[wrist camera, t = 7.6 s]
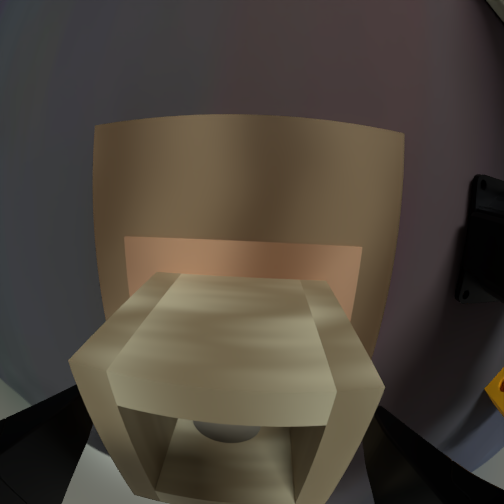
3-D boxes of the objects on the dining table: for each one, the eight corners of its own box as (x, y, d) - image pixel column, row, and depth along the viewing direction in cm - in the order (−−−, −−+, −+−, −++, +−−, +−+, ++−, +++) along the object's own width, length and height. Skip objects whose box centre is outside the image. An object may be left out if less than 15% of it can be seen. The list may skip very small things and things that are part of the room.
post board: (391, 137, 10) (475, 116, 5) (330, 446, 15) (343, 513, 9) (109, 129, 10) (21, 110, 5) (147, 434, 15) (122, 496, 10)
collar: (326, 280, 10) (385, 387, 5) (304, 404, 12) (319, 511, 6) (156, 271, 10) (68, 360, 5) (171, 395, 12) (134, 494, 6)
